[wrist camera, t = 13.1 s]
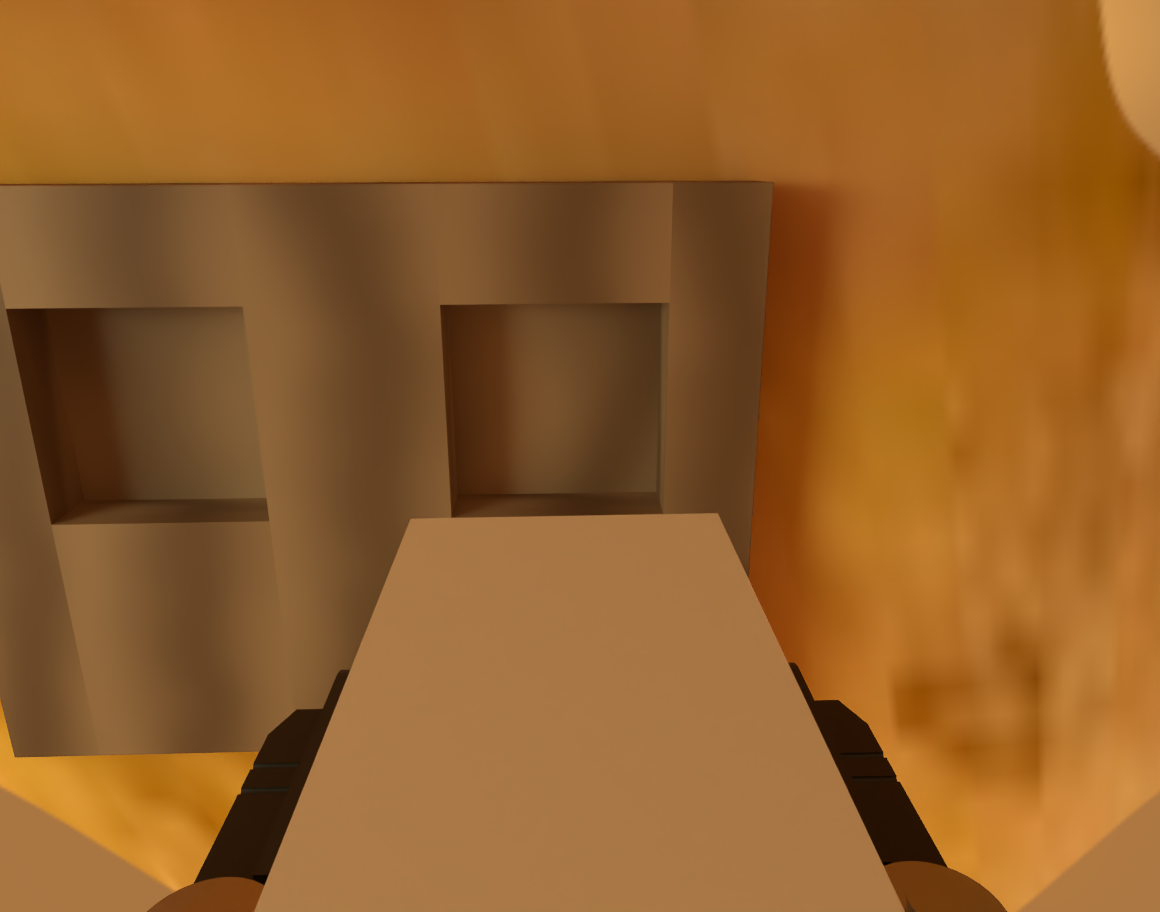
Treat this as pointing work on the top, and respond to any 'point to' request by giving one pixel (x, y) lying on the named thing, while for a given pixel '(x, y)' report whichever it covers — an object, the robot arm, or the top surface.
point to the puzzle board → (333, 417)
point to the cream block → (573, 737)
